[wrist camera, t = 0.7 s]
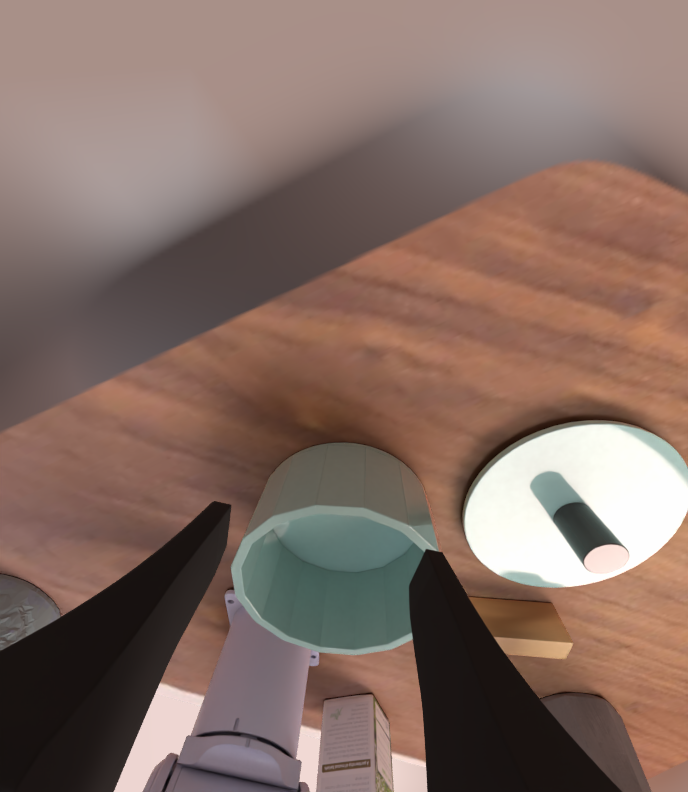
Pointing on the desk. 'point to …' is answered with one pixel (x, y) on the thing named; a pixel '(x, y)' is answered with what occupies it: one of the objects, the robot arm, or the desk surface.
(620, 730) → the coffeepot
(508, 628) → the tan wooden block
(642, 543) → the lid
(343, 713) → the syrup box
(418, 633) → the robot arm
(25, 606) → the drinking glass
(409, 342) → the desk surface
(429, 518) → the pot
